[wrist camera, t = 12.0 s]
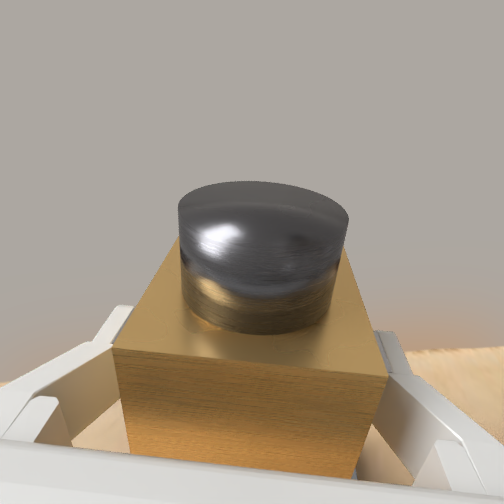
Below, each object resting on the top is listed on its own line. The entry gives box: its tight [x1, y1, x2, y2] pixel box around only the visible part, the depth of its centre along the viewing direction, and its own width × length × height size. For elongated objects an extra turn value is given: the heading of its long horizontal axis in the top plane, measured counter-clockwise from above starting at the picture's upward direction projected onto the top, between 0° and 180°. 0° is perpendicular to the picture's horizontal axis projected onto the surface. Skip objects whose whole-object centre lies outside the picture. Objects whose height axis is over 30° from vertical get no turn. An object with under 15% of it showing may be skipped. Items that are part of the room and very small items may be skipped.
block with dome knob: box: [111, 181, 389, 479], centre depth 10 cm, size 5×5×11 cm
